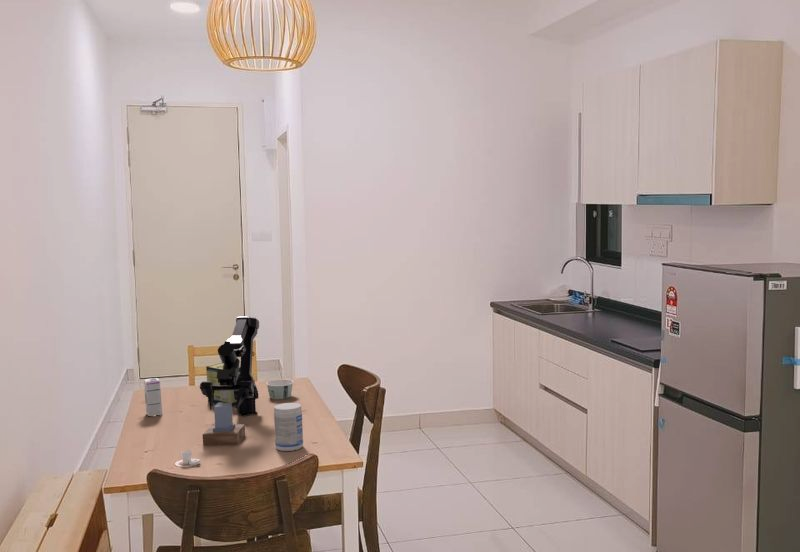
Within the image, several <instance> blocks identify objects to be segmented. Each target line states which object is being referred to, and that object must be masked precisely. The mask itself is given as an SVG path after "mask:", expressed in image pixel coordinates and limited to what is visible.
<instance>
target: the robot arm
mask: <svg viewBox="0 0 800 552" xmlns="http://www.w3.org/2000/svg"><path fill="white" fill-rule="evenodd" d="M259 329H260V321H259V320H258V319H257V317H250V316H248V315H245V316H244V315H241V316H240V315H239V316H237V317H236V319H235V326H234V329H233V332H232V335H231V336H230V338H227V340H225V341H224V343H223V344H221V345H219V347H218V348H217V354H218V356H219V358H220V360H221V363H224V365H223V369H218V370H217V379H218V383H220V385H213V383H212V381H207V380H206V381H205V380H204V381H203V380H202V381H201V382H200V384H199V390H200V391H201V393H202V395H203V396H205V397H207V401H208V400H209V402H208V404H209V409H210V410H212V409H213V408H214V403H213V401H214V392H215V391H216V390H226V391H231V390H234V397H235V400H237V401H236V405H235V407H234V408H235V410H236V413H237V414H238V415H240V416H242V417H245V416H250V415H257V414H258V411H256V400H257V399H259V398H260V397H259V390H258V387H257V385H256V381H255V378H254V377H253V375H252V370H253V369H252V366H253V351H254V350H253V345H254V339H255V338H256V337H257V335H258V330H259ZM239 358H240V359H239ZM239 365H240V374H239V376H238V377H237V375H238V369H239Z"/></svg>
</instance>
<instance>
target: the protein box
mask: <svg viewBox="0 0 800 552" xmlns="http://www.w3.org/2000/svg"><path fill="white" fill-rule="evenodd" d="M223 365H224V363H222V362H220V363H215V364H212V365H207V366H205V367H206V381H212V383H213V385H220V383H218V379H217V370H218V369H223ZM239 374H240V364H239V369H238V375H237V377H238V376H239ZM236 401H237V400H235V397H234V390H231V391H226V390H216V391H215V392H214V401H213V404H217V403H232V407H233V406H236ZM207 402H208V403H209V400H208V399H207Z"/></svg>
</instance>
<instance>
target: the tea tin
mask: <svg viewBox="0 0 800 552" xmlns="http://www.w3.org/2000/svg"><path fill="white" fill-rule="evenodd" d="M213 408H214V412H213V413H214V424H215V427H214V428H213V432H231V431H232V430H233V428H234V427H235V424H236V422H234V421H233V420H234V419H233V406H232V403H215V405H213Z"/></svg>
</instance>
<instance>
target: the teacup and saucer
mask: <svg viewBox="0 0 800 552" xmlns="http://www.w3.org/2000/svg"><path fill="white" fill-rule="evenodd" d="M180 455H181V456H180V457H181V458H182V459H180V460H177V461H176V462H175V463H174V466H176V467H179V468H189V467H194V466H196V465H197V466H198V465H200V464H201V459H199V458H192V455H193V453H192V450H184V451H181V452H180ZM180 463H183V464H184V465H181V464H180Z"/></svg>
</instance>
